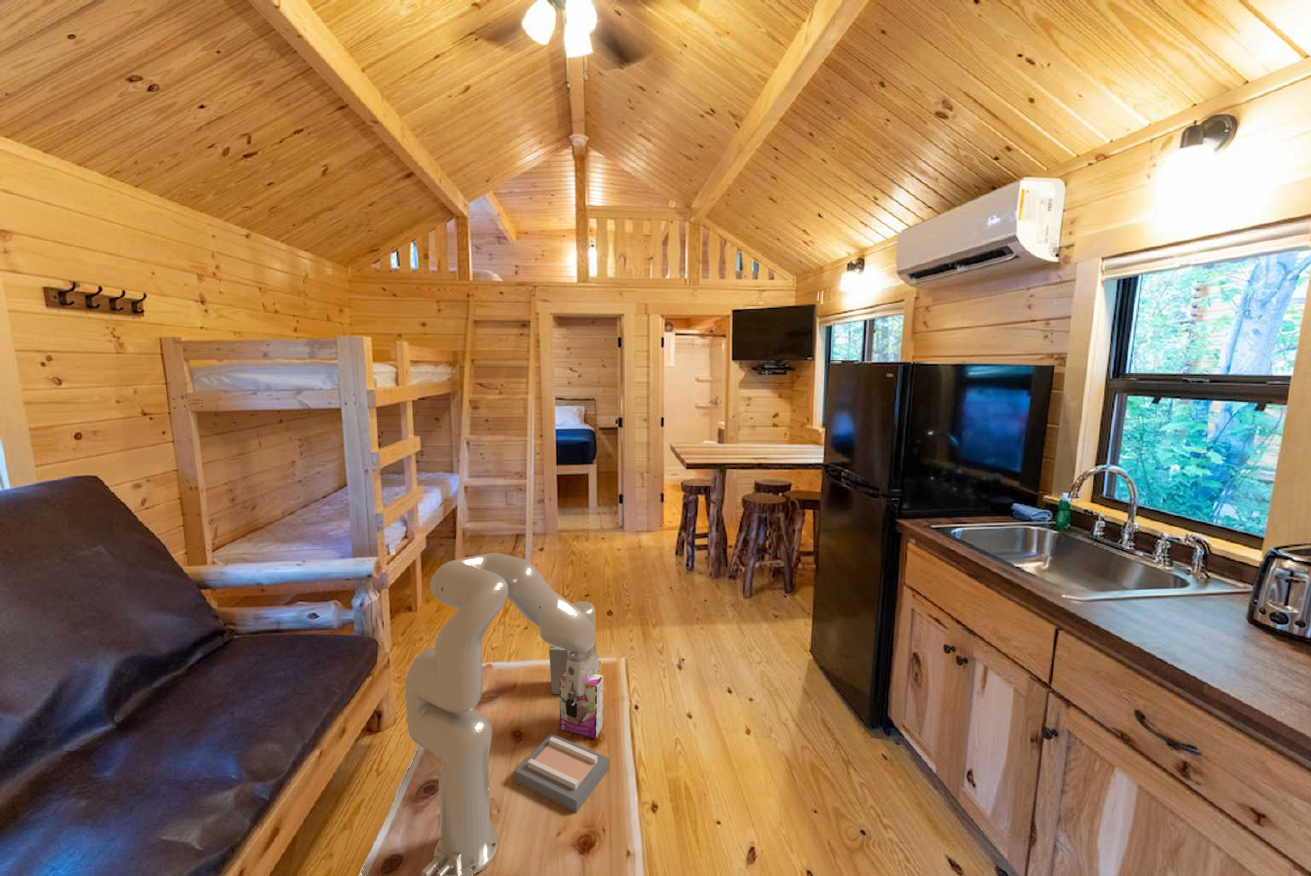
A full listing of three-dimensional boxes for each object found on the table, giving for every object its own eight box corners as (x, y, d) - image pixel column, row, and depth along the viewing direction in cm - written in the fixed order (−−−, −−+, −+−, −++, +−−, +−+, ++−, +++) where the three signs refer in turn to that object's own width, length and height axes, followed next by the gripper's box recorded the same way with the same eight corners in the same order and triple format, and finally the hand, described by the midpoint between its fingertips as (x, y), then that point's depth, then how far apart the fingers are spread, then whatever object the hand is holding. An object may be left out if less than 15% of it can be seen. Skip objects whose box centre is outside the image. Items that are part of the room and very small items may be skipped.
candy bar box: (558, 731, 139) (558, 677, 137) (566, 719, 144) (566, 666, 142) (596, 740, 136) (597, 685, 134) (603, 727, 141) (603, 674, 139)
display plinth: (576, 812, 115) (576, 795, 114) (515, 781, 123) (514, 765, 122) (609, 768, 127) (609, 752, 126) (551, 743, 135) (551, 728, 134)
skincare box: (582, 683, 160) (582, 636, 158) (576, 698, 153) (576, 649, 151) (556, 680, 161) (555, 634, 158) (549, 695, 154) (548, 647, 151)
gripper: (574, 669, 127) (574, 729, 130) (610, 635, 143) (610, 690, 145) (550, 661, 131) (551, 720, 133) (588, 629, 146) (588, 682, 149)
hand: (582, 704), depth 139 cm, fingers open, 9 cm apart
